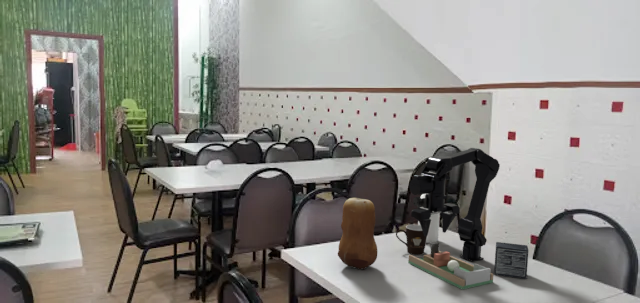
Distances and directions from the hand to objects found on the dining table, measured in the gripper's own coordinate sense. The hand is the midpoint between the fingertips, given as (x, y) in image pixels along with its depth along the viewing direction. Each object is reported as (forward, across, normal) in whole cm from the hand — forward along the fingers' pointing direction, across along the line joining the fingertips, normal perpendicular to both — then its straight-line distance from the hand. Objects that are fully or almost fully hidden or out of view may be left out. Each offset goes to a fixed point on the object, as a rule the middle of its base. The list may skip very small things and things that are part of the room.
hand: (434, 234), depth 176 cm
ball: (+9, 0, +10) cm, 13 cm away
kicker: (+10, 0, +1) cm, 10 cm away
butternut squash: (+11, +26, -11) cm, 31 cm away
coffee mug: (+12, -4, -16) cm, 20 cm away
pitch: (+12, 0, +8) cm, 14 cm away
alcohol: (+12, -20, -24) cm, 34 cm away
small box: (+12, -18, +19) cm, 29 cm away
